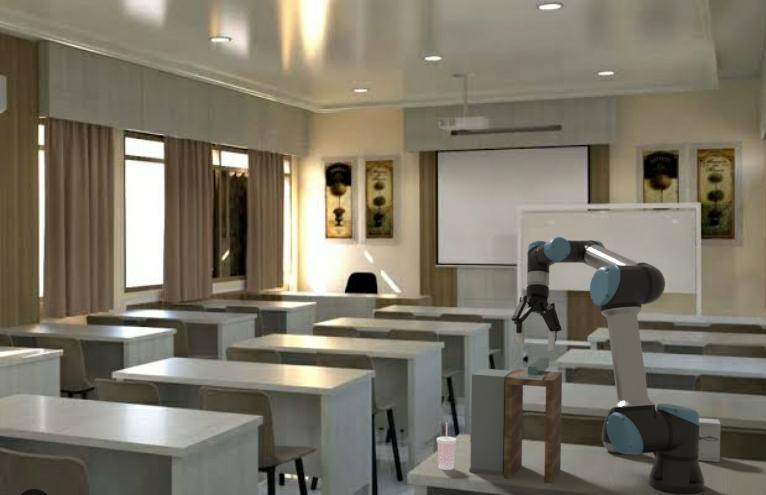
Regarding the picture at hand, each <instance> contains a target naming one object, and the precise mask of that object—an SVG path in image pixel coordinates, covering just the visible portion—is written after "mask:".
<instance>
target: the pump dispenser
mask: <svg viewBox="0 0 766 495" xmlns="http://www.w3.org/2000/svg"><path fill="white" fill-rule="evenodd" d="M611 414H613V407H611V408H610V409H609V411H608V413H607V415H606V417H605V420H604V423H603V427H602V434H601V441H602V444H603V446H604V448H605V449H606V450H607V451H608V452H610V453H612V454H622V453H621V452H619V451H618V450H617V449H616V448H615V447H614V446H613V445H612V443H611V441H610V439H609V437H608V433H607V422H608V417H609V416H610V415H611Z"/></svg>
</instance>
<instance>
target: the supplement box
mask: <svg viewBox="0 0 766 495" xmlns="http://www.w3.org/2000/svg"><path fill="white" fill-rule="evenodd" d="M699 424H700V426H699V454H698V461H702V462H703V461H704V462H714V463H720V460H721V426H722V425H721V422H720V419H718V418H717V419H713V418H701V417H699Z"/></svg>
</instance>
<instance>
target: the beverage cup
mask: <svg viewBox="0 0 766 495" xmlns="http://www.w3.org/2000/svg"><path fill="white" fill-rule="evenodd" d="M436 443H437V458H438V459H437V460H438V464H437V465H438V469H440V470H442V471H443V470H444V471H445V470H446V471H451V470H453V469H454V466H455V455H456V453H455V452H456V443H457V438H455V437H454V436H448V422H445V436H438V437H437V438H436Z"/></svg>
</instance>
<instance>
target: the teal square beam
mask: <svg viewBox="0 0 766 495" xmlns="http://www.w3.org/2000/svg"><path fill="white" fill-rule="evenodd" d="M548 368H550V358H549V357H539V358H537V359H536V360H535V361H534V362H532V363H531V364H528V366H527V370H528V374H522V373H519V374H517V375H516V376H515V378H517V379H530V380H543V379H544V378H545V377H546V375H540V374H541V373H542V372H543V371H547V369H548Z"/></svg>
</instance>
